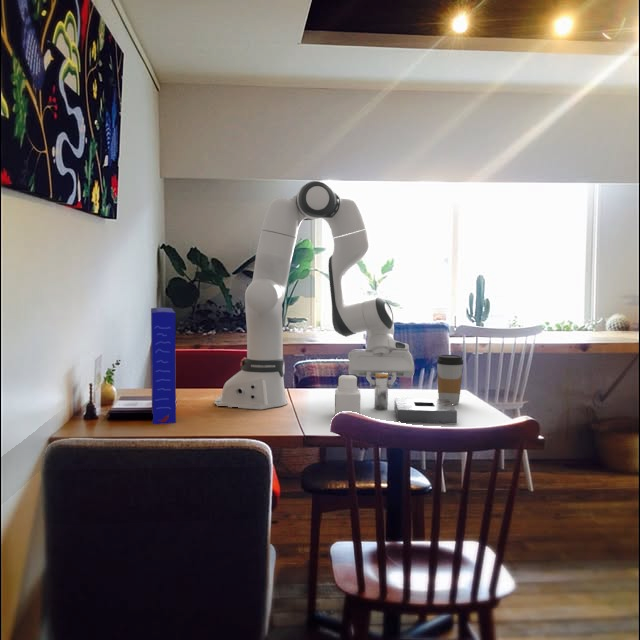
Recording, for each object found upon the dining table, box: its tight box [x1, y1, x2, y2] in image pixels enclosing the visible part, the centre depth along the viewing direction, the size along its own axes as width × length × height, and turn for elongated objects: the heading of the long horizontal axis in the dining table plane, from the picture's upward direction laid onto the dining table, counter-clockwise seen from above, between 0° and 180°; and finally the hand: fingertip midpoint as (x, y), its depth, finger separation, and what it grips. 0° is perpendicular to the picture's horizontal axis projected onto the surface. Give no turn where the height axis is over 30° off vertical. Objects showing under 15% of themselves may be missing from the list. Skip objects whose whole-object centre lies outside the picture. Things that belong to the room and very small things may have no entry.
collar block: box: [393, 397, 458, 424], centre depth 175 cm, size 16×16×4 cm
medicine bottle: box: [334, 373, 362, 415], centre depth 174 cm, size 7×7×12 cm
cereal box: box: [150, 307, 177, 425], centre depth 172 cm, size 22×6×30 cm, turn 16°
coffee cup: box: [436, 354, 464, 405], centre depth 194 cm, size 8×8×15 cm
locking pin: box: [373, 372, 389, 411], centre depth 184 cm, size 4×4×11 cm
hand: (381, 386), depth 183 cm, fingers closed on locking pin, 4 cm apart
